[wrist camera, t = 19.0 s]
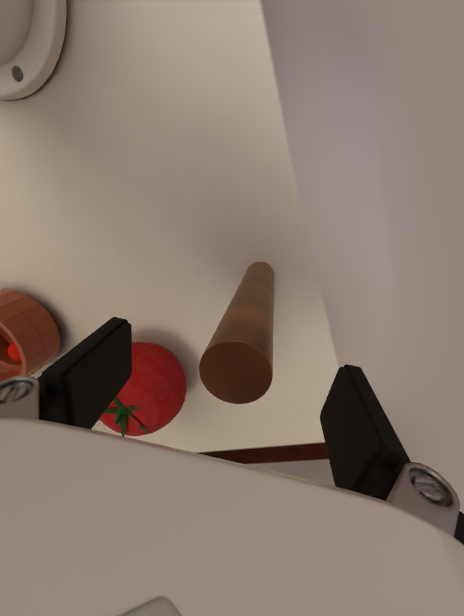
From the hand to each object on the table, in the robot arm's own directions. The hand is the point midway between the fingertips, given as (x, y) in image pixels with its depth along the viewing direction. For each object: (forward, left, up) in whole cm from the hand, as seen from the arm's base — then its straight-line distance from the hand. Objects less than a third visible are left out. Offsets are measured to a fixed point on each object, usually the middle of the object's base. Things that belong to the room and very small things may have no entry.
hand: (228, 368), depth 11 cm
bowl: (+20, -15, -13) cm, 28 cm away
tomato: (+14, -2, -13) cm, 19 cm away
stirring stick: (-1, 0, -12) cm, 12 cm away
